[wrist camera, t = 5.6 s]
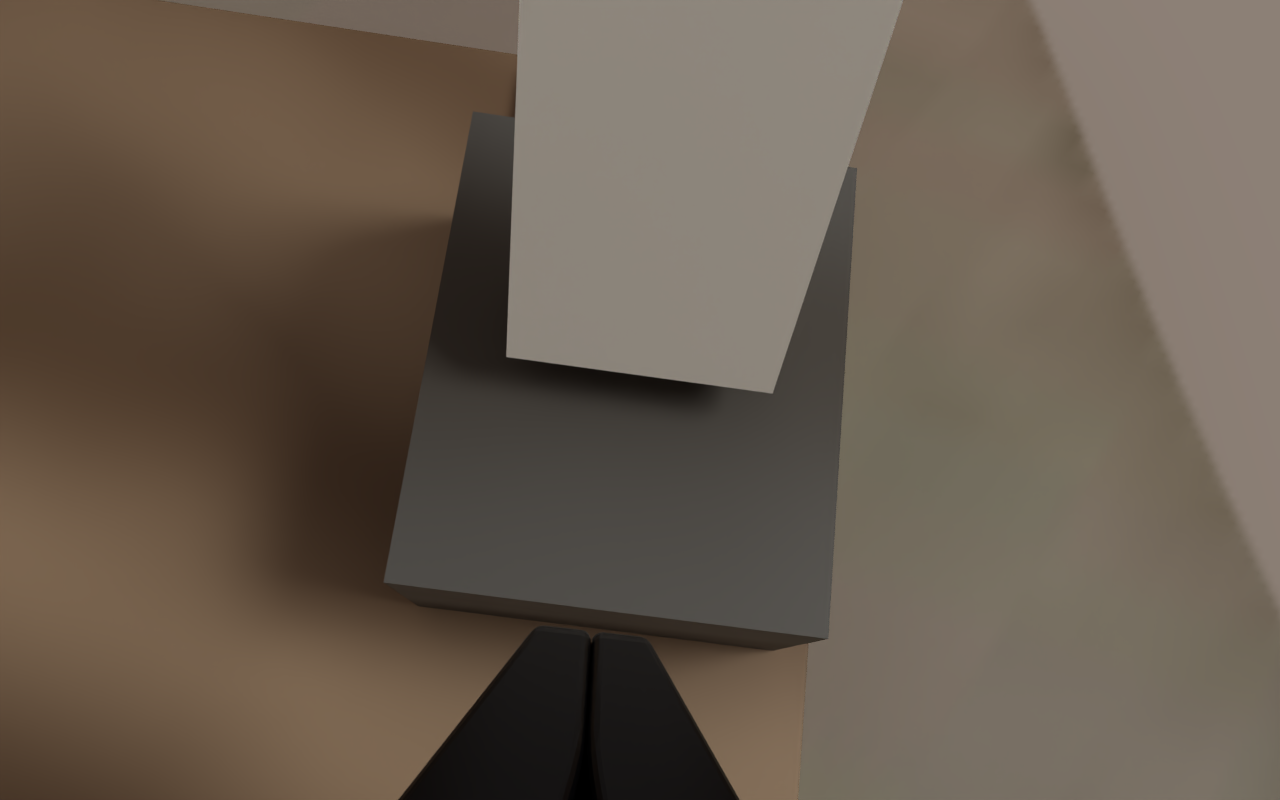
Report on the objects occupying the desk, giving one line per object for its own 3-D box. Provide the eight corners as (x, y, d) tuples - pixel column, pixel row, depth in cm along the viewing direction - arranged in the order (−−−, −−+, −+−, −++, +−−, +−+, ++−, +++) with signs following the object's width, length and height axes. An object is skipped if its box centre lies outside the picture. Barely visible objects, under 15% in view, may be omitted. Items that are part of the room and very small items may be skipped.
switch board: (764, 1033, 14) (846, 1162, 10) (-781, 865, 13) (-1347, 936, 9) (828, 136, 18) (903, -18, 14) (-343, -40, 17) (-603, -255, 13)
